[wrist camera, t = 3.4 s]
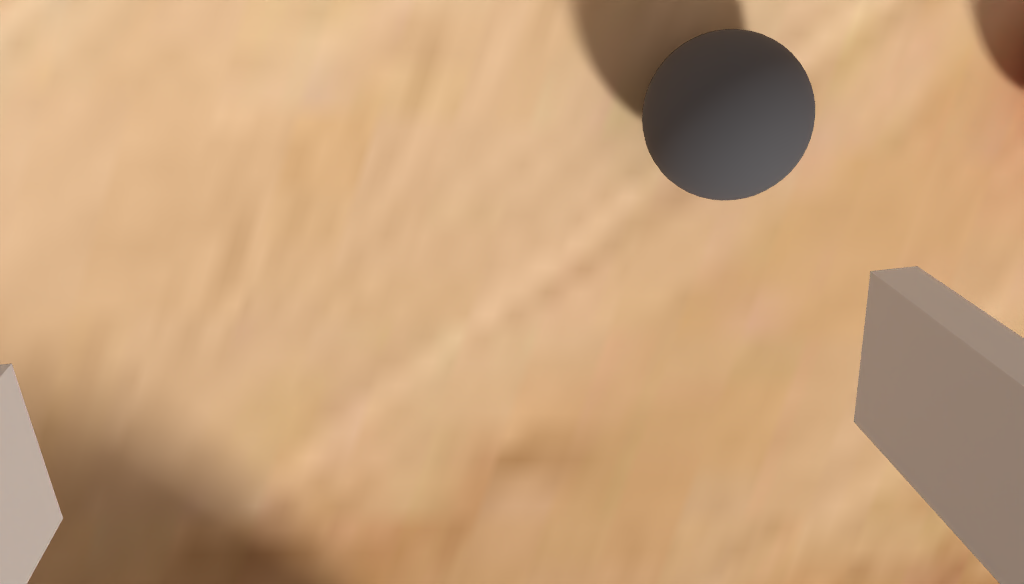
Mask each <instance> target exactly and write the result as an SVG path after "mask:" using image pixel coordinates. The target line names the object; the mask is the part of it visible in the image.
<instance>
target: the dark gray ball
mask: <svg viewBox="0 0 1024 584" xmlns="http://www.w3.org/2000/svg"><path fill="white" fill-rule="evenodd" d="M814 120H815V101H814V94H813V90H812V86H811V83H810V81H809V79H808V76H807V74H806V72H805V70H804V68H803V67H802V65H801V64H800V62H799V61H798V60H797V59H796V58H795V56H794V55H793V54H792V53H791V52H790V51H789V50H788V49H786V48H785V47H784V46H783V45H781V44H780V43H778V42H777V41H775V40H773V39H771V38H769V37H767V36H765V35H763V34H760V33H756V32H753V31H747V30H739V29H725V30H718V31H713V32H709V33H706V34H703V35H700V36H698V37H695V38H693V39H691V40H689V41H688V42H686V43H684V44H683V45H681V46H680V47H679V48H677V49H676V50H675V51H674V52H672V53H671V54H670V55H669V57H668V58H667V59H666V60H665V61H664V62H663V63H662V65H661V66H660V67H659V68H658V70H657V72H656V73H655V75H654V77H653V78H652V80H651V83H650V85H649V87H648V90H647V93H646V96H645V100H644V105H643V115H642V123H643V132H644V137H645V141H646V145H647V147H648V150H649V153H650V155H651V157H652V158H653V160H654V162H655V163H656V165H657V166H658V167H659V169H660V170H661V172H662V173H663V174H664V175H665V176H666V177H667V178H668V179H669V180H670V181H672V182H673V183H674V184H676V185H677V186H678V187H680V188H682V189H683V190H685V191H687V192H689V193H691V194H694V195H696V196H699V197H703V198H708V199H712V200H736V199H742V198H747V197H750V196H754V195H756V194H759V193H761V192H763V191H765V190H767V189H769V188H770V187H772V186H774V185H775V184H777V183H778V182H779V181H781V180H782V179H783V178H784V177H785V176H787V175H788V174H789V173H790V172H791V171H792V169H793V168H794V167H795V166H796V165H797V163H798V162H799V160H800V159H801V158H802V156H803V154H804V152H805V150H806V148H807V146H808V144H809V141H810V139H811V135H812V131H813V127H814Z"/></svg>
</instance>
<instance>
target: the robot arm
mask: <svg viewBox="0 0 1024 584" xmlns="http://www.w3.org/2000/svg"><path fill="white" fill-rule="evenodd" d="M854 422H855V423H856V425H857V426H858V427H859V428H860V429H861V430H862V431H863V432H864V433H865V435H866V436H867V437H868V438H869V439H870V440H871V441H872V442H873V443H874V445H875V446H876V447H877V448H878V449H879V450H880V451H881V452H882V453H883V455H884V456H885V457H886V458H887V459H888V460H889V461H890V462H891V463H892V465H893V466H894V467H895V468H896V469H897V470H898V471H899V472H900V473H901V474H902V476H903V477H904V478H905V479H906V480H907V481H908V482H909V483H910V484H911V486H912V487H913V488H914V489H915V490H916V491H917V492H918V493H919V494H920V496H921V497H922V498H923V499H924V500H925V501H926V502H927V503H928V504H929V506H930V507H931V508H932V509H933V510H934V511H935V512H936V513H937V514H938V516H939V517H940V518H941V519H942V520H943V521H944V522H945V523H946V524H947V526H948V527H949V528H950V529H951V530H952V531H953V532H954V533H955V534H956V536H957V537H958V538H959V539H960V540H961V541H962V542H963V543H964V544H965V546H966V547H967V548H968V549H969V550H970V551H971V552H972V553H973V554H974V556H975V557H976V558H977V559H978V560H979V561H980V562H981V563H982V564H983V565H984V567H985V568H986V569H987V570H988V571H989V572H990V573H991V574H992V575H993V577H994V578H995V579H996V580H997V581H998V582H999V583H1000V584H1024V338H1022V337H1021V336H1019V335H1018V334H1016V333H1015V332H1013V331H1012V330H1011V329H1009V328H1008V327H1006V326H1005V325H1003V324H1002V323H1000V322H999V321H997V320H996V319H994V318H993V317H991V316H990V315H988V314H987V313H985V312H984V311H982V310H981V309H979V308H978V307H977V306H975V305H974V304H972V303H971V302H969V301H968V300H966V299H965V298H963V297H962V296H960V295H959V294H957V293H956V292H954V291H953V290H951V289H950V288H948V287H947V286H945V285H944V284H943V283H941V282H940V281H938V280H937V279H935V278H934V277H932V276H931V275H929V274H928V273H926V272H925V271H923V270H922V269H920V268H919V267H917V266H915V267H906V268H897V269H887V270H878V271H871V272H870V281H869V290H868V299H867V308H866V317H865V326H864V335H863V344H862V353H861V362H860V371H859V379H858V388H857V397H856V406H855V415H854ZM62 520H63V517H62V514H61V511H60V508H59V505H58V502H57V499H56V496H55V493H54V490H53V487H52V484H51V481H50V477H49V474H48V471H47V468H46V465H45V462H44V459H43V456H42V453H41V450H40V447H39V444H38V441H37V438H36V435H35V432H34V429H33V426H32V423H31V420H30V417H29V414H28V411H27V408H26V405H25V402H24V399H23V396H22V393H21V390H20V387H19V384H18V381H17V378H16V375H15V372H14V369H13V366H12V364H3V365H0V584H27V583H28V581H29V579H30V577H31V576H32V574H33V572H34V570H35V568H36V567H37V565H38V563H39V561H40V559H41V558H42V556H43V554H44V552H45V550H46V548H47V547H48V545H49V543H50V541H51V539H52V538H53V536H54V534H55V532H56V530H57V529H58V527H59V525H60V523H61V521H62Z"/></svg>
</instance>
